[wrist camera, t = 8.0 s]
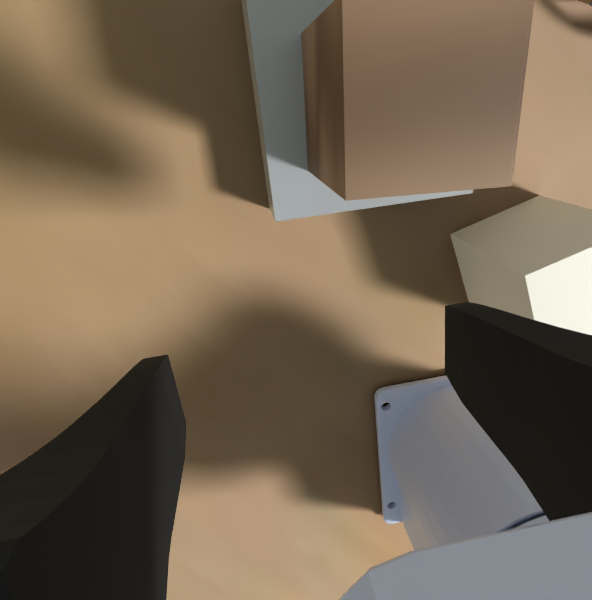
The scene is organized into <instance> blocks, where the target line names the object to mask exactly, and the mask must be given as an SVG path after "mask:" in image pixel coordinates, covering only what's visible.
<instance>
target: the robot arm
mask: <svg viewBox="0 0 592 600" xmlns="http://www.w3.org/2000/svg"><path fill="white" fill-rule="evenodd" d="M445 374H446V375H445V376H440V377H435V378H429V379H424V380H419V381H413V382H408V383H403V384H397V385H392V386H387V387H382V388H380V389H378V390H377V391H376V393H375V396H374V399H375V413H376V428H377V442H378V457H379V471H380V486H381V500H382V515H383V518H384V520H385V522H386V523H389V524H392V523H397V522H403V525H404V527H405V529H406V532H407V534H408V536H409V539H410V541H411V543H412V546H413V548H414V550H415V551H410V552H408V553H405V554H403V555H401V556H398V557H396V558H393V559H391V560H389V561H386V562H384V563H381V564H379V565H376V566H374V567H372V568H370V569H369V570H368V571H367V572H366V573H365V574H364V575H363V576H362V577H361V578H360V579H359V580H358V581H357V582H356V583H355V584H354V585H353V586H352V587H351V588H350V589H349V590H348V591H347V592H346V593H345V594H344V595H343V596H342V597H341V598H340V599H339V600H592V335H589V334H584V333H580V332H576V331H572V330H568V329H564V328H561V327H557V326H553V325H550V324H546V323H543V322H539V321H536V320H532V319H529V318H526V317H522V316H519V315H516V314H513V313H509V312H506V311H503V310H499V309H496V308H492V307H489V306H485V305H481V304H477V303H471V302H465V303H459V304H453V305H448V306H445ZM384 403H388V404H387V405H386V406H384V407H382V405H383V404H384ZM185 439H186V421H185V417H184V413H183V409H182V406H181V402H180V398H179V394H178V391H177V387H176V383H175V380H174V376H173V372H172V368H171V365H170V361H169V357H168V355H163V356H157V357H152V358H146V359H143V360H141V361H140V362H139V363H138V364H136V365H135V366H134V367H133V368H132V369H131V370H130V371H129V372H128V373H127V374H126V375H125V376H124V377H123V378H122V379H121V380H120V381H119V382H118V383H117V384H116V385H115V386H114V387H113V388H112V389H111V390H110V391H109V392H107V393H106V394H105V395H104V396H103V397H102V398H101V399H100V400H99V401H98V402H97V403H96V404H95V405H94V406H92V407H91V408H90V409H89V410H88V411H87V412H86V413H84V414H83V415H82V416H81V417H80V418H79V419H78V420H76V421H75V422H74V423H73V424H72V425H71V426H70V427H68V428H67V429H66V430H65V431H63V432H62V433H61V434H60V435H58V436H57V437H56V438H54V439H53V440H52V441H50V442H49V443H48V444H46V445H45V446H43V447H42V448H41V449H39V450H38V451H37V452H35V453H34V454H32V455H31V456H29V457H28V458H27V459H25V460H24V461H22V462H20V463H19V464H17V465H16V466H14V467H12V468H11V469H9V470H8V471H6V472H4V473H3V474H1V475H0V600H166V593H167V577H168V561H169V552H170V544H171V536H172V530H173V525H174V519H175V513H176V507H177V501H178V495H179V490H180V484H181V478H182V471H183V465H184V459H185ZM391 502H392V503H391ZM389 503H390V504H389Z"/></svg>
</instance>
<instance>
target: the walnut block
mask: <svg viewBox="0 0 592 600" xmlns="http://www.w3.org/2000/svg"><path fill="white" fill-rule="evenodd" d="M533 6H534V0H334V1H333V2H332V3H331V4H330V5H329V6H328V7H327V8H326V9H325V10H324V11H323V12H322V13H321V14H320V15H319V16H318V17H317V18H316V19H315V20H314V21H313V22H312V23H311V24H310V25H309V26H308V27H307V28H306V29H305V30H304V31H303V32H302V33H301V38H302V59H303V80H304V101H305V122H306V142H307V163H308V171H309V172H310V173H311V174H312V175H314V176H315V177H316V178H318V179H319V180H320V181H321V182H323V183H324V184H325V185H326V186H328V187H329V188H330V189H331V190H333V191H334V192H335V193H336V194H338V195H339V196H340V197H342V198H343V199H344V200H345V201H349V200H360V199H372V198H383V197H394V196H406V195H417V194H428V193H440V192H451V191H463V190H474V189H485V188H497V187H508V186H512V180H513V172H514V163H515V155H516V147H517V138H518V130H519V122H520V114H521V105H522V97H523V89H524V81H525V72H526V64H527V56H528V47H529V39H530V31H531V23H532V14H533Z"/></svg>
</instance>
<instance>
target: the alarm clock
mask: <svg viewBox="0 0 592 600" xmlns="http://www.w3.org/2000/svg"><path fill="white" fill-rule="evenodd" d="M578 1H581V2H584V3H586V4H589V5H591V6H592V0H578Z"/></svg>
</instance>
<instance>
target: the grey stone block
mask: <svg viewBox="0 0 592 600" xmlns="http://www.w3.org/2000/svg"><path fill="white" fill-rule="evenodd" d="M333 1H334V0H241V2H242V9H243V17H244V24H245V31H246V39H247V46H248V54H249V61H250V68H251V76H252V83H253V91H254V98H255V105H256V113H257V120H258V128H259V135H260V142H261V150H262V157H263V165H264V172H265V179H266V187H267V194H268V202H269V209H270V211H271V213H272V215H273V218H274V220H275V222H276V221H283V220H290V219H297V218H304V217H311V216H318V215H325V214H332V213H339V212H346V211H352V210H359V209H366V208H373V207H380V206H387V205H394V204H401V203H408V202H415V201H422V200H429V199H436V198H443V197H449V196H456V195H463V194H470V193H473V190H463V191H451V192H440V193H428V194H417V195H406V196H394V197H383V198H372V199H360V200H349V201H345V200H344V199H343V198H342V197H340V196H339V195H338V194H336V193H335V192H334V191H333V190H331V189H330V188H329V187H328V186H326V185H325V184H324V183H323V182H321V181H320V180H319V179H318V178H316V177H315V176H314V175H312V174H311V173H310V172H309V171H308V163H307V142H306V122H305V101H304V80H303V59H302V38H301V33H302V32H303V31H304V30H305V29H306V28H307V27H308V26H309V25H310V24H311V23H312V22H313V21H314V20H315V19H316V18H317V17H318V16H319V15H320V14H321V13H322V12H323V11H324V10H325V9H326V8H327V7H328V6H329V5H330V4H331V3H332V2H333Z"/></svg>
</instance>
